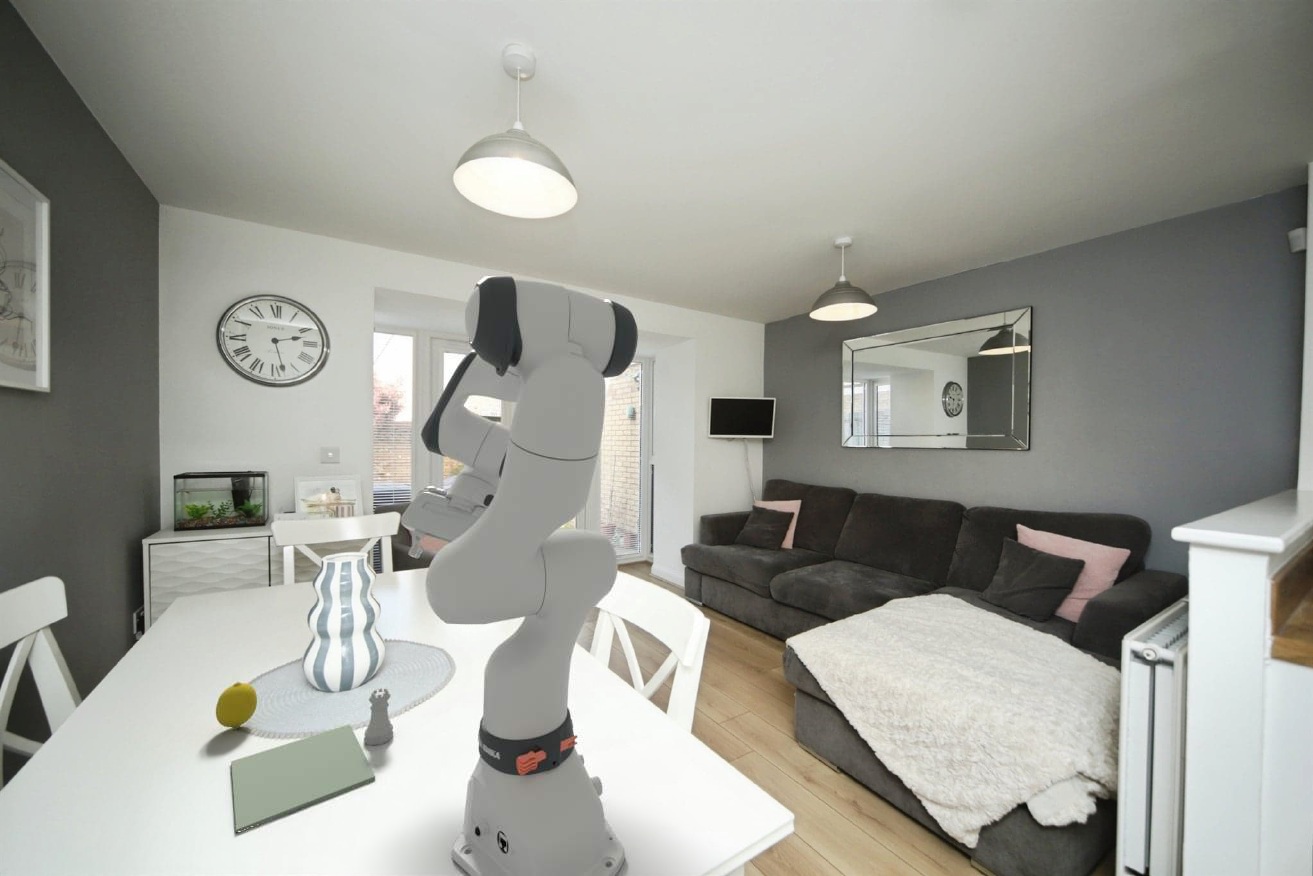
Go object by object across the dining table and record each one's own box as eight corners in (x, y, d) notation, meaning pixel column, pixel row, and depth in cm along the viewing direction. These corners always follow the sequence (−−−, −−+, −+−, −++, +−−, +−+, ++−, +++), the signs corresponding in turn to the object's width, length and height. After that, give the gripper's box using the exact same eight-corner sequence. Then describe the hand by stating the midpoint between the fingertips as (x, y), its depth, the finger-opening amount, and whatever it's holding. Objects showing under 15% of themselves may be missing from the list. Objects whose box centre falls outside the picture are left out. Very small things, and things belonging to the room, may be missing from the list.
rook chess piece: (372, 750, 82) (373, 701, 82) (358, 740, 85) (359, 693, 85) (398, 736, 86) (400, 690, 86) (384, 728, 88) (385, 683, 88)
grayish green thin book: (375, 779, 75) (375, 776, 75) (236, 833, 64) (236, 829, 64) (349, 727, 88) (349, 724, 88) (231, 764, 78) (231, 761, 78)
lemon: (232, 739, 84) (234, 692, 84) (206, 735, 85) (207, 688, 85) (264, 721, 90) (265, 677, 90) (239, 717, 91) (240, 673, 91)
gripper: (417, 477, 98) (378, 542, 91) (513, 505, 95) (479, 575, 89) (429, 490, 104) (393, 552, 97) (520, 517, 101) (489, 584, 94)
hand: (435, 563), depth 93 cm, fingers open, 8 cm apart
